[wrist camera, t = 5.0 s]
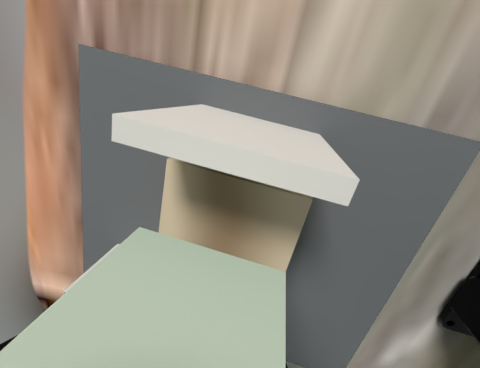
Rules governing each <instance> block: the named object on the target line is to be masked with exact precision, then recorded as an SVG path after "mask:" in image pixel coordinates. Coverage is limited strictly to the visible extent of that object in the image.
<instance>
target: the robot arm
mask: <svg viewBox="0 0 480 368" xmlns="http://www.w3.org/2000/svg"><path fill="white" fill-rule="evenodd" d="M439 321H440V322H441V324H442V325H443V326H444V327H445V328H447V329H451V330H454V331H457V332H460V333H464V334H467V335H470V336H473V337H474V338H475V339H476V340H477V342H478V343H479V344H480V263H479V265H478V266H477V267H476V269H475V270H474V271H473V273H472V274H471V275H470V277H469V278H468V279H467V281H466V282H465V283H464V285H463V286H462V287H461V289H460V290H459V291H458V293H457V294H456V295H455V297H454V298H453V299H452V301H451V302H450V303H449V305H448V306H447V307H446V309H445V310H444V311H443V313H442V314H441V315H440V317H439ZM17 336H18V335H17ZM17 336H15V337H13V338H11V339H9V340H7V341H6V342H4V343H2V344H0V351H1V350H2V349H3V348H4V347H5V346H7V345H8V344H9V343H10V342H11V341H12V340H13V339H14V338H16V337H17ZM286 368H288V367H287V365H286Z"/></svg>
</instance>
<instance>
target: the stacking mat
mask: <svg viewBox="0 0 480 368" xmlns="http://www.w3.org/2000/svg"><path fill="white" fill-rule="evenodd" d="M78 48H79V90H80V133H81V175H82V218H83V261H84V273H85V272H86V271H87V270H88V269H89V268H90V267H92V266H93V265H94V264H95V263H96V262H97V261H98V260H99V259H101V258H102V257H103V256H104V255H105V254H106V253H107V252H109V251H110V250H111V249H112V248H113V247H114V246H115V245H117V244H121V243H122V242H123V241H124V240H125V239H126V238H128V237H129V236H130V235H131V234H132V233H133V232H134V231H135V230H137V229H138V228H139V227H141V228H145V229H148V230H151V231H154V232H159V223H160V215H161V206H162V197H163V189H164V180H165V172H166V163H167V159H168V158H173V159H177V160H180V161H184V162H187V163H191V164H195V165H198V166H202V167H205V168H209V169H213V170H216V171H220V172H223V173H227V174H231V175H234V176H238V177H241V178H245V179H249V180H252V181H256V182H259V183H263V184H267V185H270V186H274V187H277V188H281V189H285V190H288V191H292V192H295V193H301V194H305V195H308V196H312V198H313V201H312V203H311V206H310V209H309V211H308V214H307V217H306V219H305V222H304V225H303V227H302V230H301V233H300V235H299V238H298V240H297V243H296V246H295V248H294V251H293V254H292V256H291V259H290V262H289V264H288V267H287V270H286V361H288V362H291V363H294V364H297V365H300V366H303V367H306V368H346V367H347V365H348V363H349V362H350V360H351V359H352V357H353V355H354V354H355V352H356V350H357V349H358V347H359V346H360V344H361V342H362V341H363V339H364V337H365V336H366V334H367V333H368V331H369V329H370V328H371V326H372V324H373V323H374V321H375V320H376V318H377V316H378V315H379V313H380V311H381V310H382V308H383V307H384V305H385V303H386V302H387V300H388V299H389V297H390V295H391V294H392V292H393V290H394V289H395V287H396V286H397V284H398V282H399V281H400V279H401V277H402V276H403V274H404V273H405V271H406V269H407V268H408V266H409V264H410V263H411V261H412V260H413V258H414V256H415V255H416V253H417V251H418V250H419V248H420V247H421V245H422V243H423V242H424V240H425V238H426V237H427V235H428V234H429V232H430V230H431V229H432V227H433V225H434V224H435V222H436V221H437V219H438V217H439V216H440V214H441V212H442V211H443V209H444V208H445V206H446V204H447V203H448V201H449V199H450V198H451V196H452V195H453V193H454V191H455V190H456V188H457V186H458V185H459V183H460V182H461V180H462V178H463V177H464V175H465V173H466V172H467V170H468V169H469V167H470V165H471V164H472V162H473V160H474V159H475V157H476V156H477V154H478V152H479V151H480V142H478V141H474V140H470V139H466V138H462V137H458V136H454V135H450V134H446V133H442V132H437V131H433V130H429V129H425V128H421V127H417V126H413V125H409V124H405V123H401V122H397V121H392V120H388V119H384V118H380V117H376V116H372V115H368V114H364V113H360V112H356V111H351V110H347V109H343V108H339V107H335V106H331V105H327V104H323V103H319V102H315V101H311V100H306V99H302V98H298V97H294V96H290V95H286V94H282V93H278V92H274V91H270V90H266V89H261V88H257V87H253V86H249V85H245V84H241V83H237V82H233V81H229V80H225V79H220V78H216V77H212V76H208V75H204V74H200V73H196V72H192V71H188V70H184V69H180V68H175V67H171V66H167V65H163V64H159V63H155V62H151V61H147V60H143V59H139V58H135V57H130V56H126V55H122V54H118V53H114V52H110V51H106V50H102V49H98V48H94V47H90V46H85V45H81V44H78Z"/></svg>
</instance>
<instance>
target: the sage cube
mask: <svg viewBox="0 0 480 368" xmlns="http://www.w3.org/2000/svg"><path fill="white" fill-rule="evenodd" d="M0 368H286V272H284V271H281V270H278V269H274V268H271V267H268V266H265V265H261V264H258V263H255V262H252V261H248V260H245V259H242V258H239V257H235V256H232V255H229V254H226V253H223V252H219V251H216V250H213V249H210V248H206V247H203V246H200V245H197V244H193V243H190V242H187V241H184V240H180V239H177V238H174V237H171V236H167V235H164V234H161V233H158V232H154V231H151V230H148V229H145V228H141V227H139V228H138V229H137V230H135V231H134V232H133V233H132V234H131V235H130V236H129V237H128V238H126V239H125V240H124V241H123V242H122V243H121V244H120V245H119V246H117V247H116V248H115V249H114V250H113V251H112V252H111V253H110V254H109V255H107V256H106V257H105V258H104V259H103V260H102V261H101V262H100V263H98V264H97V265H96V266H95V267H94V268H93V269H92V270H91V271H89V272H88V273H87V274H86V275H85V276H84V277H83V278H82V279H81V280H79V281H78V282H77V283H76V284H75V285H74V286H73V287H72V288H70V289H69V290H68V291H67V292H66V293H65V294H64V295H63V296H61V297H60V298H59V299H58V300H57V301H56V302H55V303H54V304H53V305H51V306H50V307H49V308H48V309H47V310H46V311H45V312H44V313H42V314H41V315H40V316H39V317H38V318H37V319H36V320H35V321H33V322H32V323H31V324H30V325H29V326H28V327H27V328H26V329H25V330H24V331H22V332H21V333H20V334H19V335H18V336H17V337H16V338H14V339H13V340H12V341H11V342H10V343H9V344H8V345H7V346H5V347H4V348H3V349H2V350H1V351H0Z"/></svg>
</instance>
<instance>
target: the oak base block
mask: <svg viewBox="0 0 480 368" xmlns="http://www.w3.org/2000/svg"><path fill="white" fill-rule="evenodd" d="M312 201H313V198H312V196H308V195H305V194H301V193H295V192H292V191H288V190H285V189H281V188H277V187H274V186H270V185H267V184H263V183H259V182H256V181H252V180H249V179H245V178H241V177H238V176H234V175H231V174H227V173H223V172H220V171H216V170H213V169H209V168H205V167H202V166H198V165H195V164H191V163H187V162H184V161H180V160H177V159H173V158H168V159H167V163H166V172H165V180H164V189H163V197H162V206H161V215H160V223H159V232H158V233H161V234H164V235H167V236H171V237H174V238H177V239H180V240H184V241H187V242H190V243H193V244H197V245H200V246H203V247H206V248H210V249H213V250H216V251H219V252H223V253H226V254H229V255H232V256H235V257H239V258H242V259H245V260H248V261H252V262H255V263H258V264H261V265H265V266H268V267H271V268H274V269H278V270H281V271H284V272H286V270H287V267H288V264H289V262H290V259H291V256H292V254H293V251H294V248H295V246H296V243H297V240H298V238H299V235H300V233H301V230H302V227H303V225H304V222H305V219H306V217H307V214H308V211H309V209H310V206H311V203H312Z"/></svg>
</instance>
